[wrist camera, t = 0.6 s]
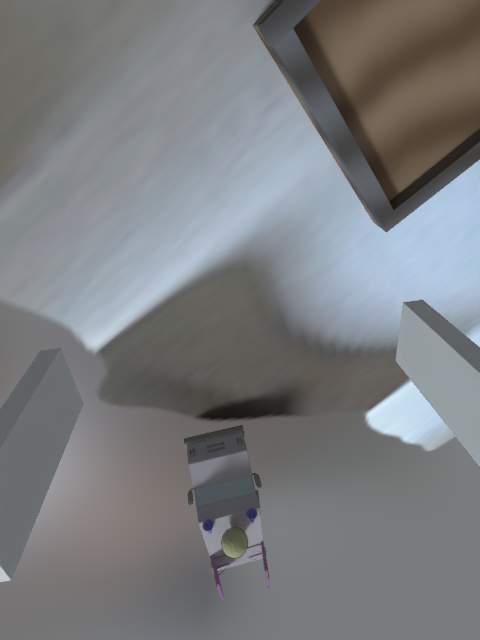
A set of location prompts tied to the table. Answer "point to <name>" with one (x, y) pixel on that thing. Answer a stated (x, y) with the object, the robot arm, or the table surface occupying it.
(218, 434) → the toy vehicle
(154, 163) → the table surface
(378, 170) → the tray
